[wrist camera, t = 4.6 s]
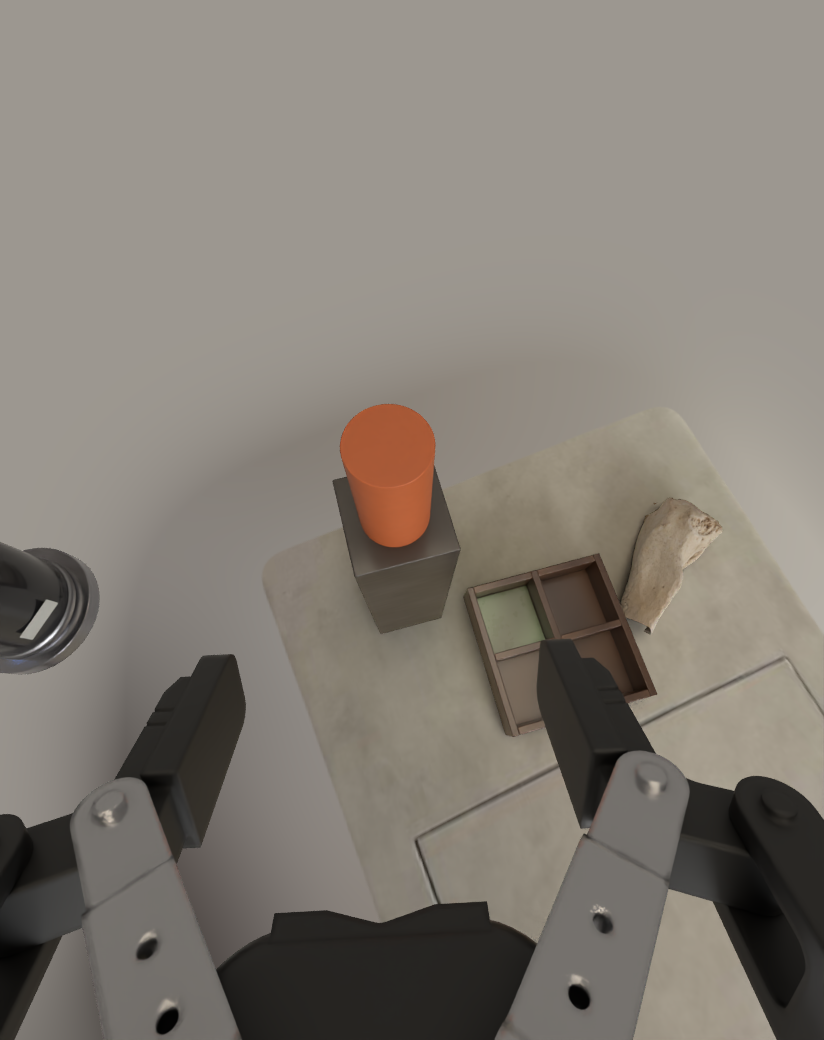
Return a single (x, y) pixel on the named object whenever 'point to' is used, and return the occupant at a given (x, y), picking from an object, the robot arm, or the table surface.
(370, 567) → the stand
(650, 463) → the table surface
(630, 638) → the grid
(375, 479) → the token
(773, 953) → the robot arm
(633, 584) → the bone fragment
